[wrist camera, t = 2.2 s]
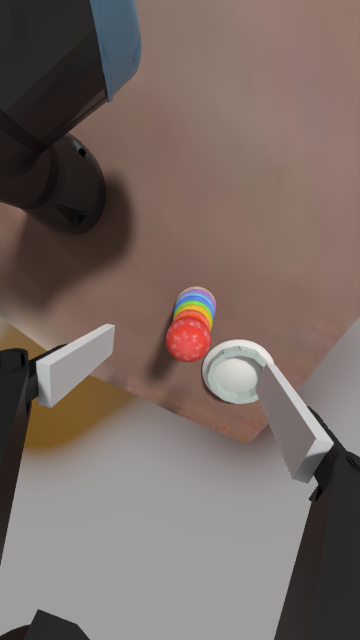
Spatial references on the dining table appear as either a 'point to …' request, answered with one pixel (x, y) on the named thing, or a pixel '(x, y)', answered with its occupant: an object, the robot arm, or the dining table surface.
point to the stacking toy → (191, 324)
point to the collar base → (235, 370)
